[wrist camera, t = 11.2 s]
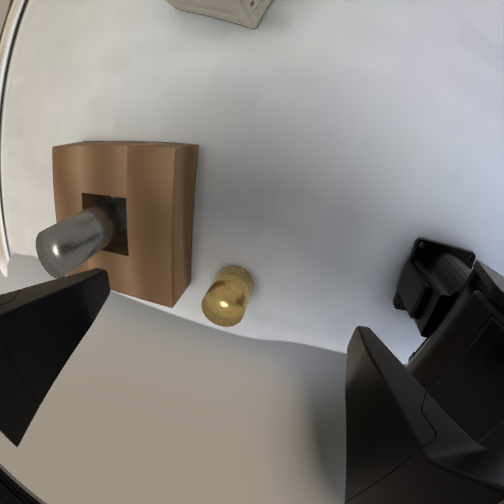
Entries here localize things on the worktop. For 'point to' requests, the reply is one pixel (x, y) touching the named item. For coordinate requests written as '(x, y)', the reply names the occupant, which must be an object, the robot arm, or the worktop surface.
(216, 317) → the short pin
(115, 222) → the long pin
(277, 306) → the worktop surface
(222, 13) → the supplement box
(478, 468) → the robot arm
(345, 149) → the worktop surface
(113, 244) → the hole block
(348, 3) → the worktop surface
